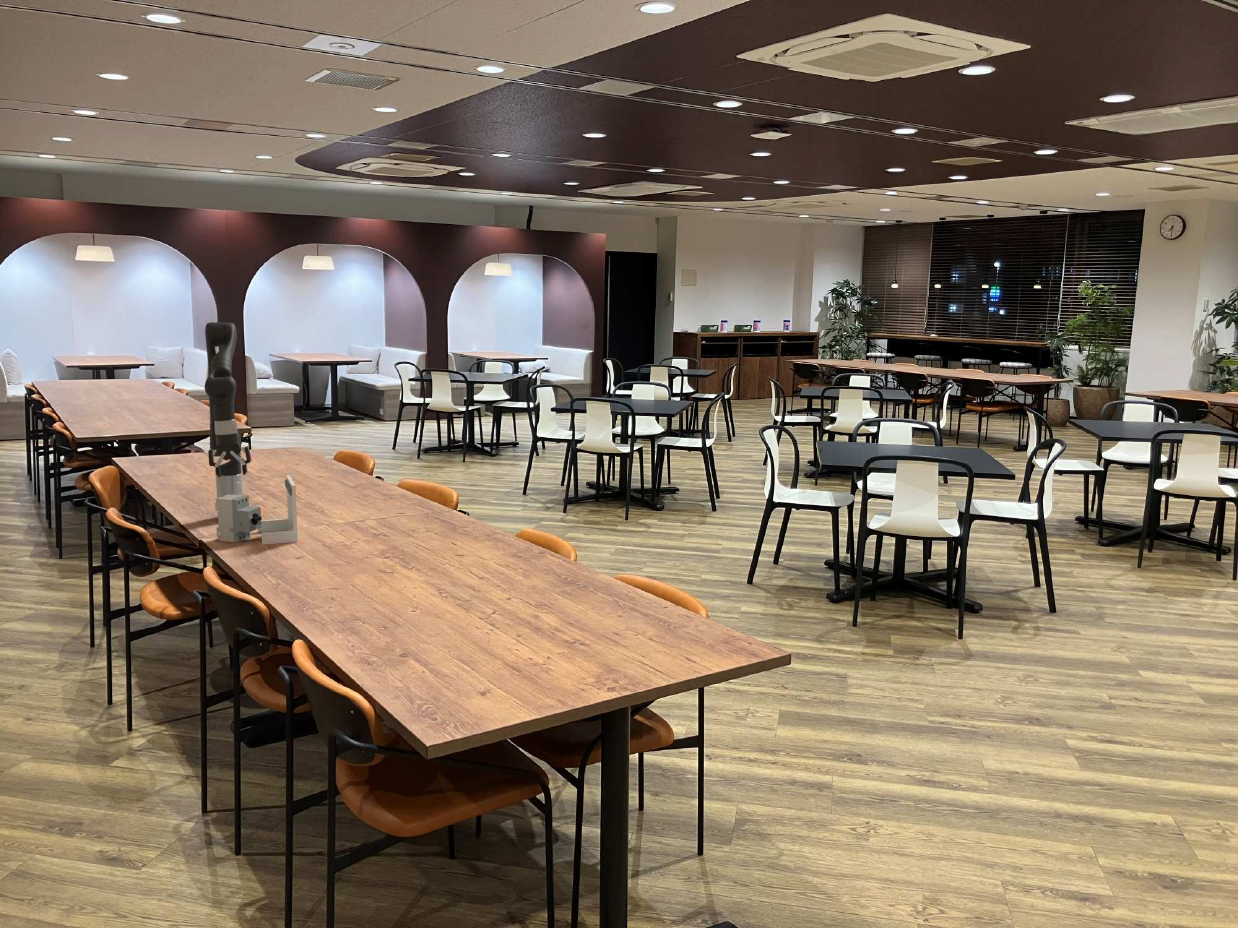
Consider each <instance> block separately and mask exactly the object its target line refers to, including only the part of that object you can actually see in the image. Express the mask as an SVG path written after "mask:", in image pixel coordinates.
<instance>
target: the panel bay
mask: <svg viewBox="0 0 1238 928" xmlns="http://www.w3.org/2000/svg"><path fill="white" fill-rule="evenodd" d="M285 478H286V479H284V487H285V489H286V499H287V500H286V501H287V502H286V503H287V504H286V505H287V507H286V508H287V518H280V519H279V518H278V519H267V520H265V519H262V520H261V528H259V529H257V532H258V533H261V545H273V544H275V545H276V544H284V543H285V544H286V543H298V542H299V541H298V539H299V538H298V516H297V515H298V514H297V513H298V511H297V510H298V509H297V493H296V492H297V490H296V483H295V482H294V480H293V478H292V477H291V476H290V475H285Z"/></svg>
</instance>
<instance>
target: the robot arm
mask: <svg viewBox="0 0 1238 928" xmlns="http://www.w3.org/2000/svg"><path fill="white" fill-rule="evenodd" d="M204 329H205V330H204V335H205V336H204V337H205V338H204V339H205V347H206V356H207V357H206V358H207V378H206V380H205V382H204V391H205V394H206V395H207V396H208V405H209V449H208V450H207V452H208V465H209V466H210V467H214V468H215V470H214V471H215V486H216V487H215V489H216V490H215V491H216V498H219V497H223V496H225V495H228V494H229V495H244V494H243V493H244V492H243V477H242V476H246V475H247V474H248V465H247V464H250V463H251V462H252V457H251V451H250V447H249V445H246V446H242V442H241V441H242V440H241V438H242V437H241V434H240V433H239V432H238V426H237V420H236V416H235V415H236V414H235V397H236V392H237V391H236V390H237V382H236V380H235V379H234V378H233V376H232V373H233V372H232V370H233V368H232V367H233V365H232V364H233V358H234V354H235V352H236V345H237V341H238V335H237V334H238V333H237V332H238V331H237V327H236V324H235V323H233V322H227V321H226V322H224V321H223V322H222V321H221V322H219V321H217V322H215V321H214V322H213V321H211V322H207V323H206V325H205V328H204ZM219 347H220V348H221V347H222V348H221V349H219V350H218V352H217V351H216V348H219ZM241 446H242V447H241ZM242 452H243V454H245V458H246V459H244V458H243V456H242V454H241V453H242ZM214 457H219V458H218V459H217V460H216V462H215V460H214ZM223 461H227V462H225V463H222V462H223ZM218 508H219V507H217V509H218Z"/></svg>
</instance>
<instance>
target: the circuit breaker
mask: <svg viewBox="0 0 1238 928" xmlns="http://www.w3.org/2000/svg"><path fill="white" fill-rule="evenodd" d="M249 500H250V498H249V495H246V494H245V495H244V494H243V495H229V494H228V495H225V496H223V497H219V498H217V497H216V498H215V503H214V504H215V505H214V506H215V507H214V509H215V511H217V519H218V527H216V537H217V539H216V541H217V540H221V541H220V542H228V543H229V542H231V543H239V542H241V541H244V540H247V539H249V538H251V532H253V531H255V530H258V529H259V528H261V521H262V520H263V519H262V512H261V506H255V505H250V501H249ZM217 507H219V508H218V509H217Z"/></svg>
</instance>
